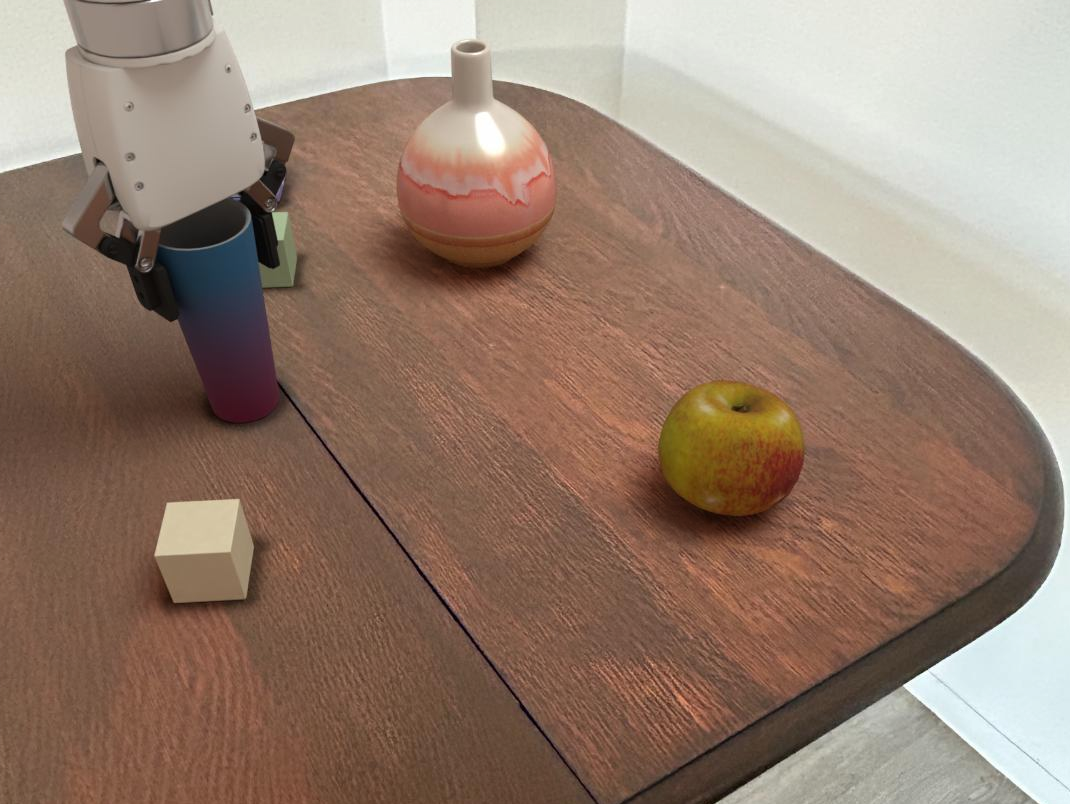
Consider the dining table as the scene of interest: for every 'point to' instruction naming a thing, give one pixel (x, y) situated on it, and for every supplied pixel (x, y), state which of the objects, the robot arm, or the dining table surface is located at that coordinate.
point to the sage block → (281, 255)
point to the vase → (475, 172)
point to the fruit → (731, 448)
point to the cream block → (205, 550)
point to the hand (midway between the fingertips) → (214, 284)
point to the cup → (222, 308)
